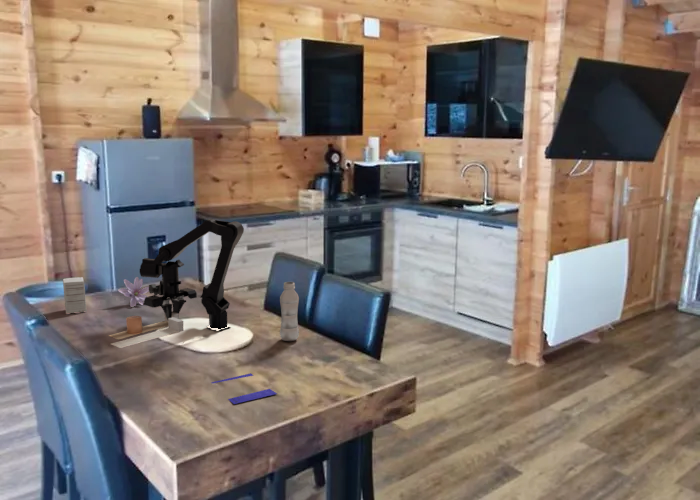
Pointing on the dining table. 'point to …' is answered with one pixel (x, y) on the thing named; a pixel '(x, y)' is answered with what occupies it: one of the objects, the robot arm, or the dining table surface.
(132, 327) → the rounded peach dome
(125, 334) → the birch strip
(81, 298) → the miniature chest of drawers
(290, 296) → the plastic bottle
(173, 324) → the grey strip
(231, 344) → the dining table surface
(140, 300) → the water lily
